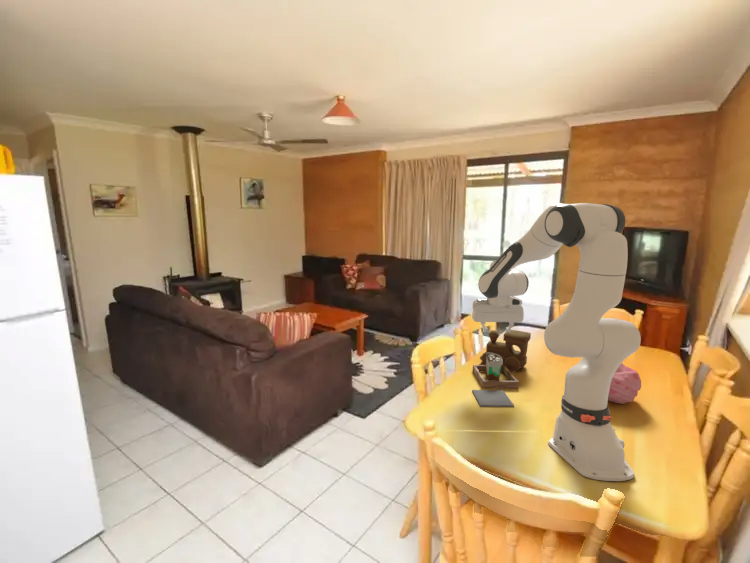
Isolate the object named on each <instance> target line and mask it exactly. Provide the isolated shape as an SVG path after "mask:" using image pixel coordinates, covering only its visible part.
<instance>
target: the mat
mask: <svg viewBox="0 0 750 563" xmlns="http://www.w3.org/2000/svg"><path fill="white" fill-rule="evenodd" d="M471 392H472V394H473V393H474V394H473V395H474V397H476V398H475V400H476V401H477V403H478V405H479V407H482V408H485V407H486V408H489V407H491V408H495V407H496V408H514V407H515V404H514V403H513V402H512V400H511V399H510V397H509V396H508V395H507V393H506V392H505V391H504V389H472V390H471Z"/></svg>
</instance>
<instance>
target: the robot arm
mask: <svg viewBox="0 0 750 563" xmlns="http://www.w3.org/2000/svg"><path fill="white" fill-rule="evenodd" d="M625 227H626V216H625V214H624V212H623V210H622V209H621V208H620V207H617V206H616V205H612V204H608V203H607V204H604V203H603V204H599V203H590V202H580V203H579V202H578V203H577V202H576V203H562V202H556V203H553V204H551V205H549V206H547V207H546V209H545V210H544V211H543V212H542V213H541V214H540V215H539V216H538V218H537V219H536V220H535V222H534V223H533V225H531V227H530V229H529V230H528V231H526V233H525V234H524V235H523V236H521V237H520V238H519V239H518V240H516V241H515V242H514V243H512V244H511V245H510V246H508V247H507V248H506V249H505V251H504V252H503V253H502V254H501V255H500V256H499V258H497V260H493V261H491V263H490V265H489V269H487V270H486V271H484V272H483V273H482V274H481V275H480V276H479V277H480V278H479V279H478V290H479V292H480V293H481V294H482V295H483V296H485V298H486V299H484V298H481V299H480V298H478V299H476V300H474V301H472V314H471V319H472V320H473V321H474V323H480V325H481V327H482V332H483V333H489V332H488V327H487V326H485V325H486V323H509V325H508V326H507V327H505V332H511V330H512V328H513V327H514V325H515V323H522V322H523V321H524V319H525V316H524V315H525V313H524V307H523V306H522V305H523V300H522V299H520V298H519V297H518V296H523V295H524V294H525V293H526V292H528V289H529V282H530V281H529V278H528V276H527V275H526V273H524V271H520V269H519V270H518V269H517V268H516V267H518V266H520V265H522V264H526V263H527V264H528V263H531V262H535V261H540V260H541V261H542V260H546V259H548V258H550V257H553V255H554V254H556V252H558V251H559V250H560V249H561V247H562V246H563V245H564V246H566V247H568V248H572V247H575V246H577V247H578V249H579V253H580V257H579V259H580V260H579V262H578V263H579V264H578V271H577V278H576V282H575V288H574V291H573V296H572V298H571V300H570V302H569V303H568V305H567V306H566V308H565V310H564V311H563V312H562V313H561V314H560V315H559V316H558V317H556V318H555V319H553V320H552V321H551V322H550V321H549V323H548V324H547V326H546V327H545V329H544V332H543V333H544V334H543V341H544V344H545V346H546V348H547V350H548V351H549V352H550V353H551V354H553V355H555V356H560V357H565V358H581V359H580V361H579V362H578V363H576V364H575V365H572V366H571V367H570V368H569V369H568V370H567V371H566V373H565V377H564V378H565V380H564V391H563V394H562V396H561V400H560V401H561V402H560V406H561V407H560V408H561V411H560V413H559V414H558V416H557V417H556V419H555V423H554V429H553V434H552V435H553V436H552V437H551V438H550V439H548V445H549V446H550V447H551V448H552V449H553V450H554V451H555V452H556V453H557V454H558V455H559V456H560V457H562V458H563V459H564V460H565V462H567V463H568V464H569V465H570V466H571V467H573V469H575V470H576V471H577V473H579V474H580V475H581V476H582V477H586V478H588V479H592V480H596V481H597V480H598V481H605V482H622V481H623V482H624V481H628V480H629V481H630V480H632V479H634V478H635V472H634V470H633V469H632V467H631V465H629V463H628V462H627V460H626V459H625V457H626V456H625V455H626V454H625V449H624V448H625V441H624V440H623V439H622V438H619V437H618V435H617V434H616V430H615V428H614V427H613V426H612V424H611V421H612V420H613V416H611V415H610V414H611V410H610V407H609V404H608V401H609V400H608V395H609V389H610V384H611V380H612V378H613V375H614V374H615V372H616V370H617V369H618V367H619V366H620V364H621V363H622V364H623V362H624V361H625V360H626V359H627V358H629V356H631V355H633V354H634V353H635V354H636V352H637V351H638V350H639V348H640V345H641V340H642V338H641V332H640V330H639V329H638V327H637V326H636V325H635V324H634V323H633V322H631V321H629V320H624V319H619V318H614V317H604V318H603V316H605V314H606V313H607V312H608V311H610V310H611V309H613V308H615V307H617V306H618V305H619V304H620V303H621V301H622V299H623V292H624V287H625V282H626V275H627V270H628V269H627V268H628V261H629V260H628V259H629V258H628V256H629V254H628V240H627V238H626V236H625V235H623V233H622V232H623V231H624V229H625Z"/></svg>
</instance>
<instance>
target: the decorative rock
mask: <svg viewBox="0 0 750 563" xmlns="http://www.w3.org/2000/svg"><path fill="white" fill-rule="evenodd" d="M641 389H642V380H641V377H640V374H639V373H638V372H637V371H636V370H635V369H633V368H631V367H628V366H626V365H624V364H623V362H622V363H621V364H620V366H619V367H618V369H617V370H616V372H615V374H614V375H613V378H612V380H611V384H610V389H609V395H608V401H610V402H611V403H615V404H622V405H625V404H627V403H630V402H631V403H632V402H633V401H634V400H635V398H636V397H637V396H638V395H639V394H638V393H639V392H638V391H641Z"/></svg>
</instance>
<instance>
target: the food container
mask: <svg viewBox="0 0 750 563" xmlns="http://www.w3.org/2000/svg"><path fill="white" fill-rule="evenodd" d="M501 365H504V364H503V360H502V357H501V356H500V355H498V354H495V353H490V352H487V353H486V372H485V375H486V377H487V378H486V380H490V381H500V377H501V372H500V370H501Z"/></svg>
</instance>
